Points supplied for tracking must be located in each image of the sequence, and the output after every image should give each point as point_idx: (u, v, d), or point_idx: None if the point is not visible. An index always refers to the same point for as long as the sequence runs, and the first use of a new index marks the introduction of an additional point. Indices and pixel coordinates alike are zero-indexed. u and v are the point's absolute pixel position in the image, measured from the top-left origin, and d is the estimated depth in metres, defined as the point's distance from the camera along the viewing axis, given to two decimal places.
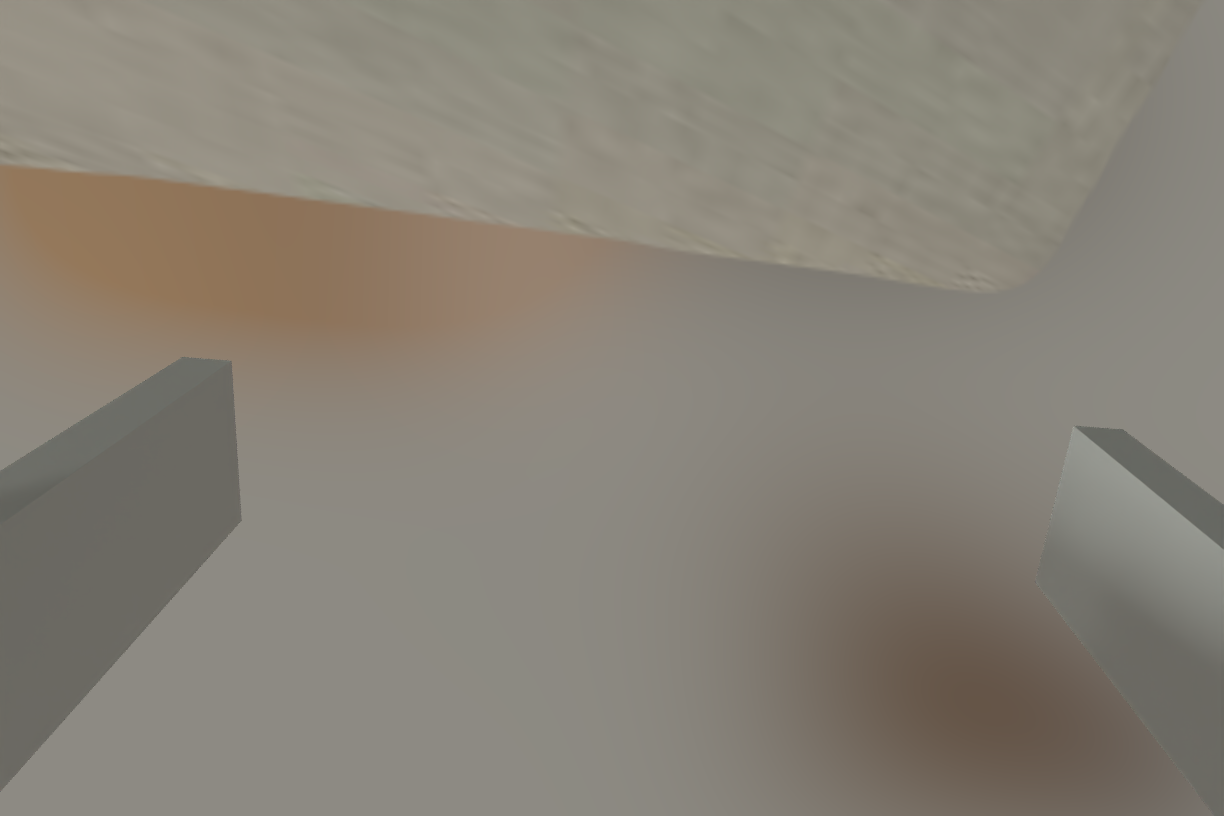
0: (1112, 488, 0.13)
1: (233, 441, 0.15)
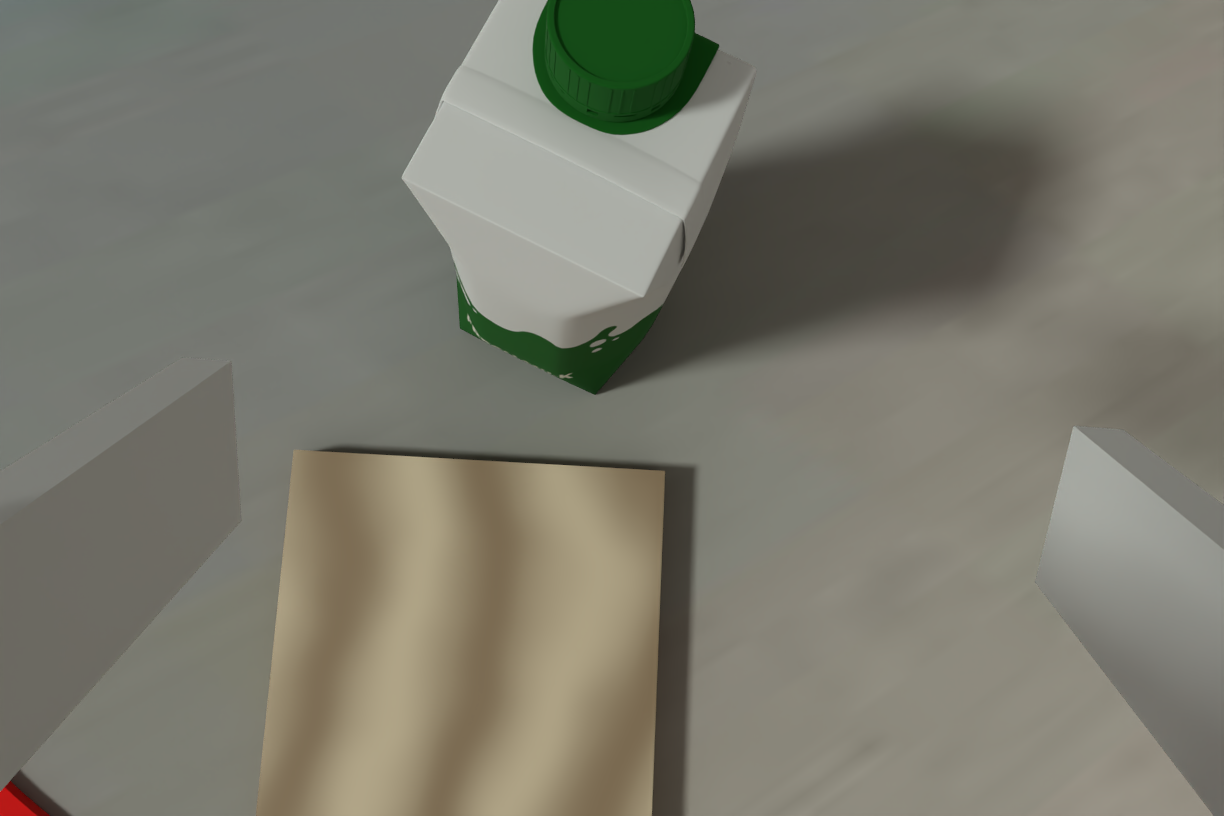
0: (1112, 488, 0.13)
1: (233, 441, 0.15)
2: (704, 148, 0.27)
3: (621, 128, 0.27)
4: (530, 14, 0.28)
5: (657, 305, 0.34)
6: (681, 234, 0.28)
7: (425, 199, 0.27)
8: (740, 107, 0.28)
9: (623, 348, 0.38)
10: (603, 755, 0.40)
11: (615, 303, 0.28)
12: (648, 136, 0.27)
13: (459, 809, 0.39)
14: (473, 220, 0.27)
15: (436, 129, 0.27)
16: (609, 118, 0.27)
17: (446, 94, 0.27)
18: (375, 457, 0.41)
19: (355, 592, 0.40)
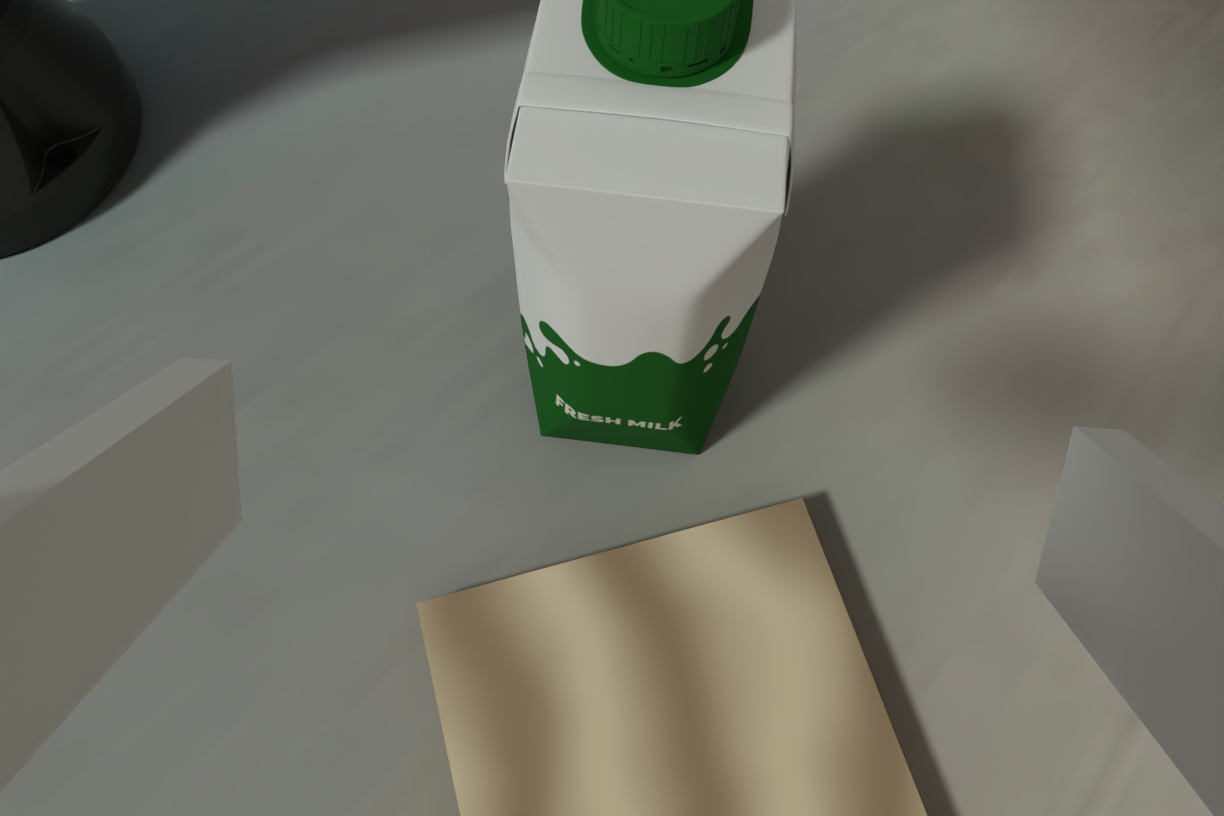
0: (1112, 488, 0.13)
1: (233, 441, 0.15)
2: (779, 75, 0.27)
3: (696, 80, 0.27)
4: (571, 16, 0.28)
5: (761, 286, 0.32)
6: None
7: (532, 198, 0.26)
8: (795, 36, 0.28)
9: (725, 370, 0.37)
10: None
11: (751, 241, 0.27)
12: (723, 79, 0.27)
13: None
14: (587, 200, 0.26)
15: (522, 130, 0.26)
16: (684, 71, 0.27)
17: (521, 98, 0.27)
18: (504, 582, 0.38)
19: (532, 732, 0.35)
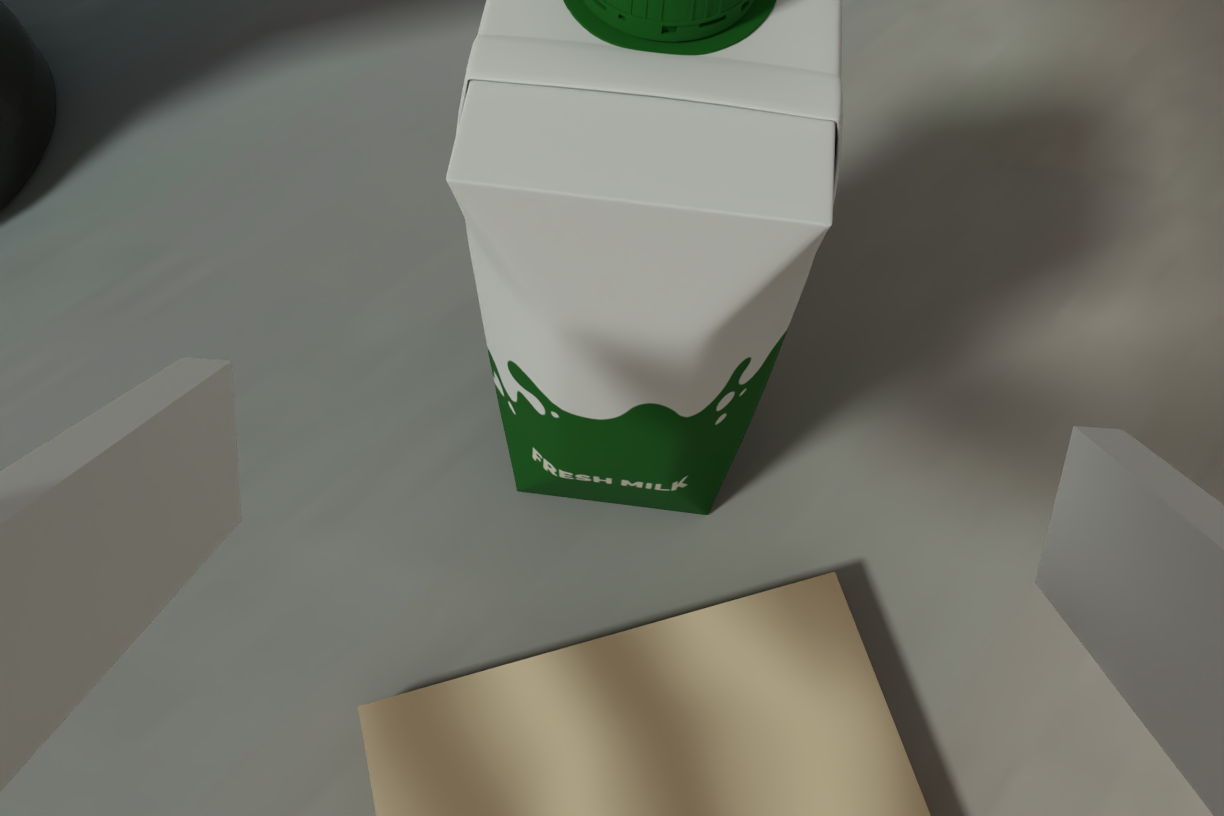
0: (1113, 488, 0.13)
1: (233, 441, 0.15)
2: (822, 39, 0.20)
3: (709, 46, 0.20)
4: None
5: (790, 318, 0.25)
6: None
7: (484, 205, 0.19)
8: None
9: (742, 419, 0.30)
10: None
11: (784, 264, 0.19)
12: (746, 45, 0.20)
13: None
14: (560, 208, 0.19)
15: (472, 112, 0.19)
16: (693, 32, 0.20)
17: (471, 68, 0.19)
18: (467, 679, 0.30)
19: None
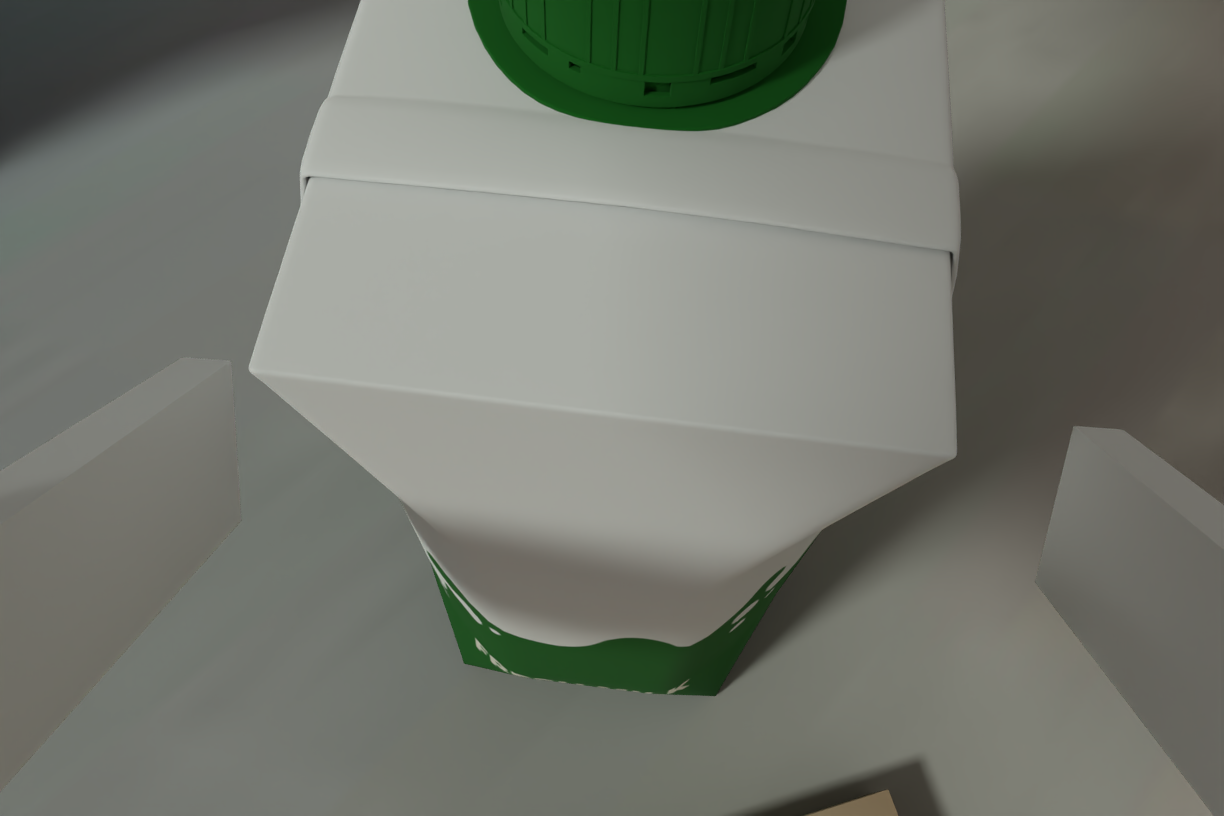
0: (1112, 488, 0.13)
1: (233, 441, 0.15)
2: (919, 101, 0.12)
3: (727, 114, 0.12)
4: None
5: None
6: None
7: (325, 408, 0.11)
8: (944, 14, 0.13)
9: (766, 605, 0.21)
10: None
11: (861, 503, 0.11)
12: (790, 112, 0.12)
13: None
14: (458, 418, 0.10)
15: (307, 238, 0.11)
16: (699, 92, 0.11)
17: (309, 158, 0.11)
18: None
19: None
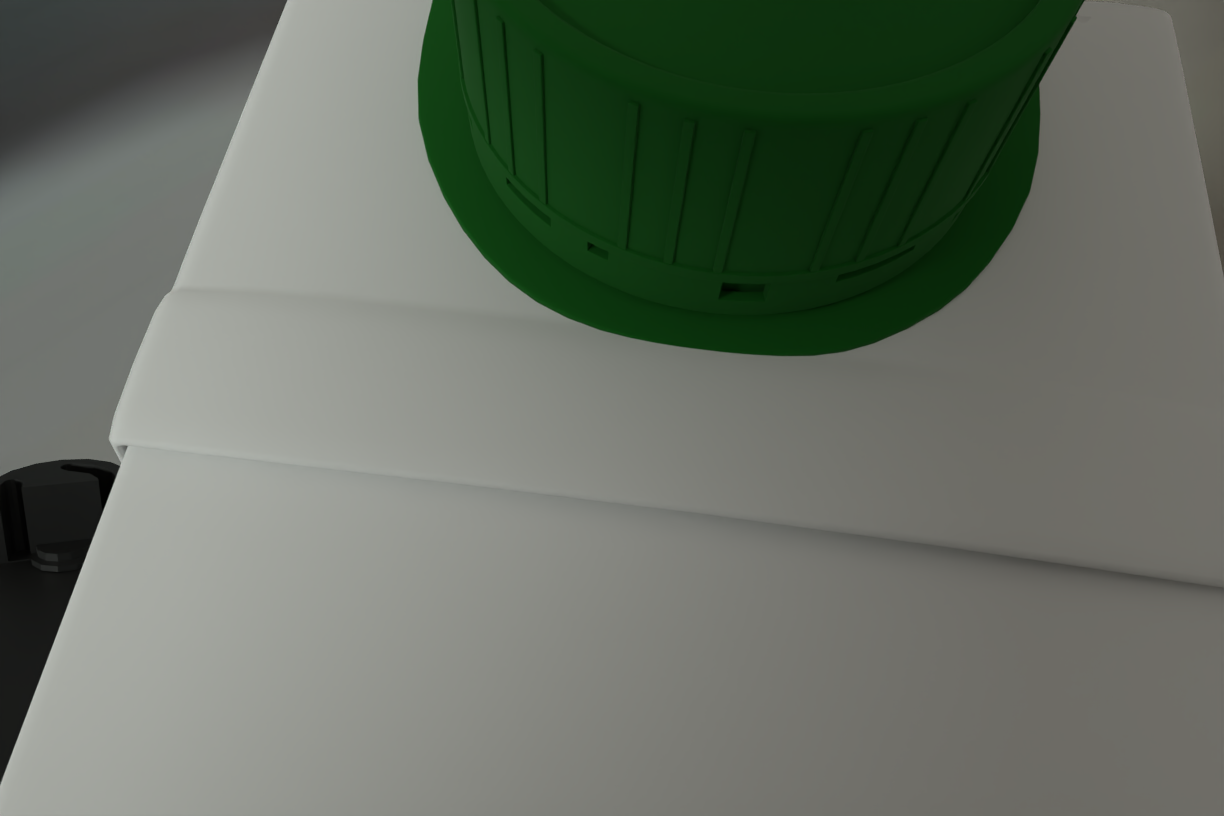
0: None
1: None
2: (1177, 295, 0.07)
3: (857, 321, 0.07)
4: (387, 58, 0.08)
5: None
6: None
7: None
8: None
9: None
10: None
11: None
12: (962, 315, 0.07)
13: None
14: None
15: (110, 572, 0.06)
16: (815, 294, 0.06)
17: (124, 414, 0.06)
18: None
19: None
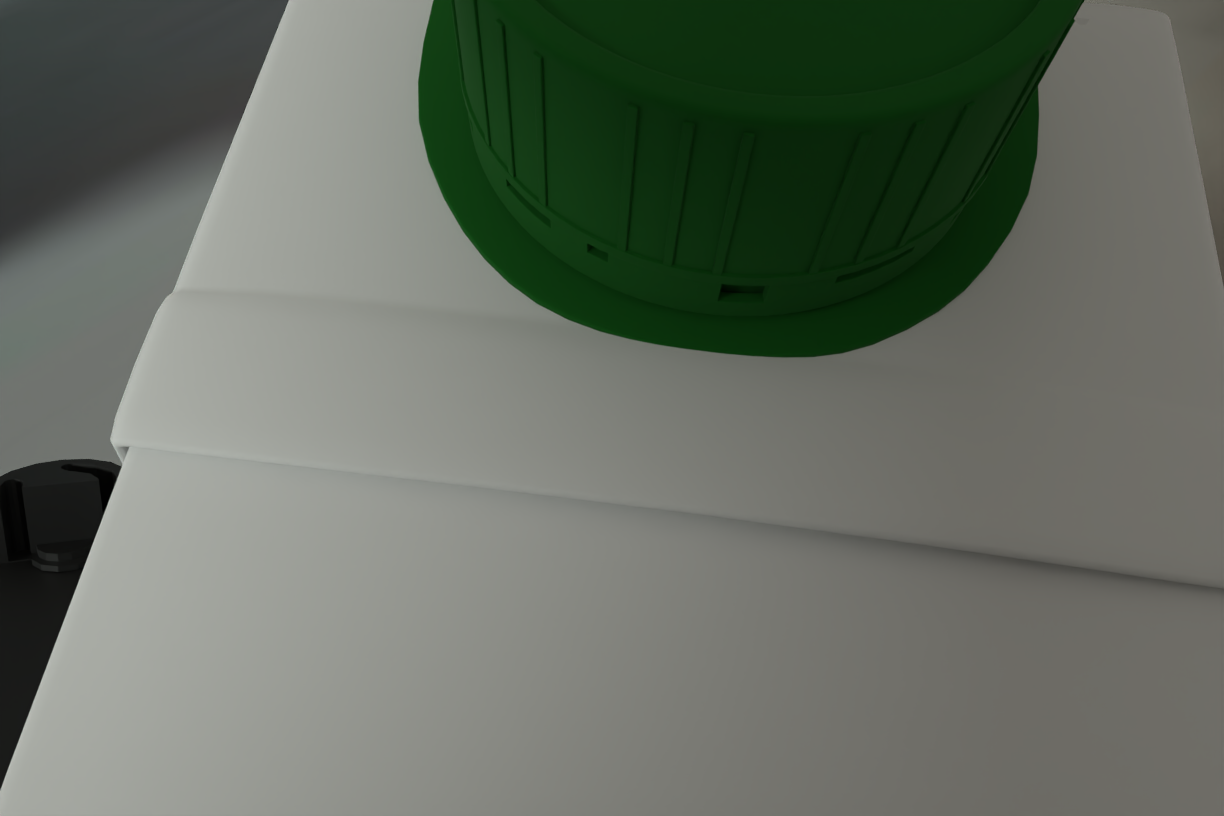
0: None
1: None
2: (1175, 297, 0.07)
3: (857, 323, 0.07)
4: (386, 61, 0.08)
5: None
6: None
7: None
8: None
9: None
10: None
11: None
12: (961, 318, 0.07)
13: None
14: None
15: (112, 573, 0.06)
16: (814, 296, 0.06)
17: (126, 415, 0.06)
18: None
19: None
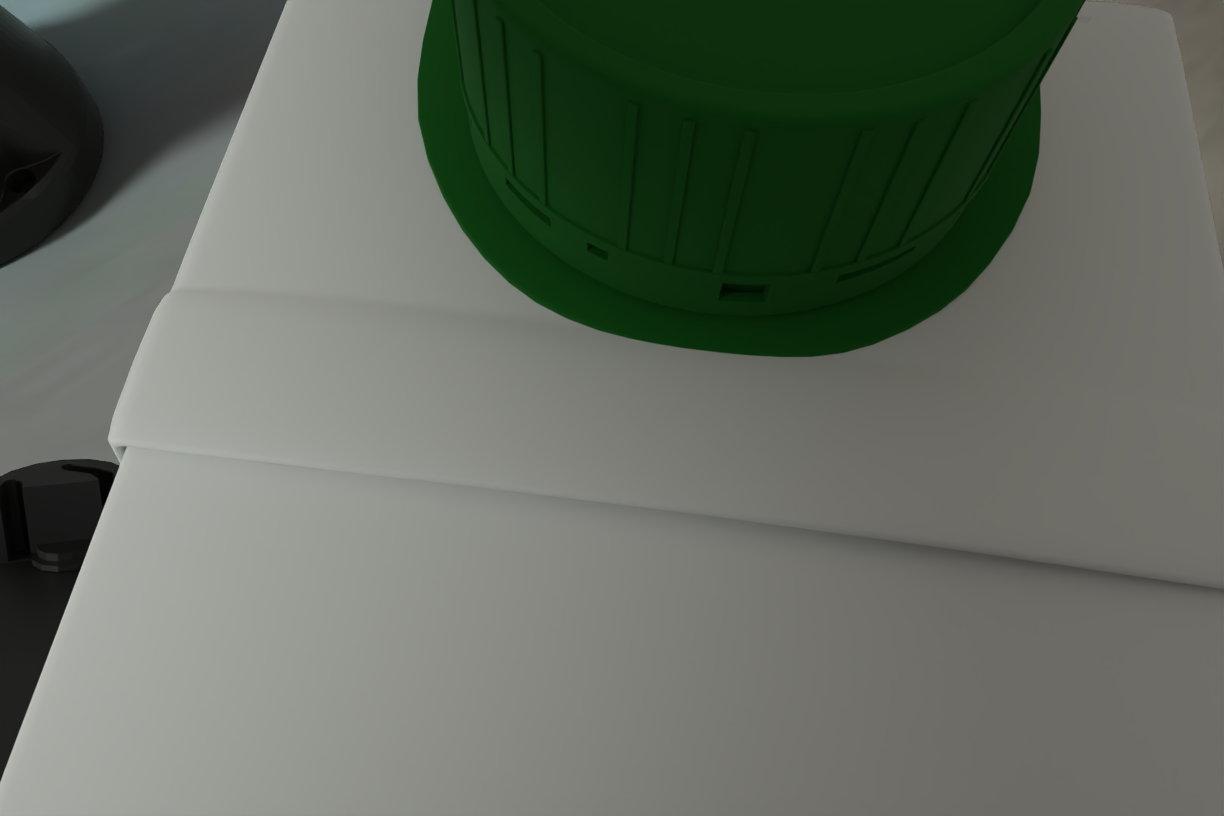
0: None
1: None
2: (1179, 295, 0.07)
3: (858, 323, 0.07)
4: (385, 59, 0.08)
5: None
6: None
7: None
8: None
9: None
10: None
11: None
12: (963, 318, 0.07)
13: None
14: None
15: (110, 574, 0.06)
16: (816, 295, 0.06)
17: (123, 415, 0.06)
18: None
19: None
